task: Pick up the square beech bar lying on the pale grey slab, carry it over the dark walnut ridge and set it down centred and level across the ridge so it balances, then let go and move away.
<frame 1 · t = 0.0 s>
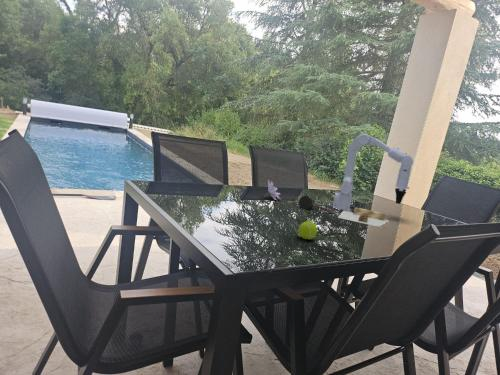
hand: (397, 202, 207), 10 cm above the table, tool pointing down, fingers open, 7 cm apart
water lily: (272, 199, 217), on the table
ridge: (363, 220, 194), resting on slab
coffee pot: (315, 211, 205), on the table
tennis ball: (306, 239, 148), on the table
rod: (368, 216, 205), point 1 cm above the table, touching slab
slab: (363, 219, 198), on the table
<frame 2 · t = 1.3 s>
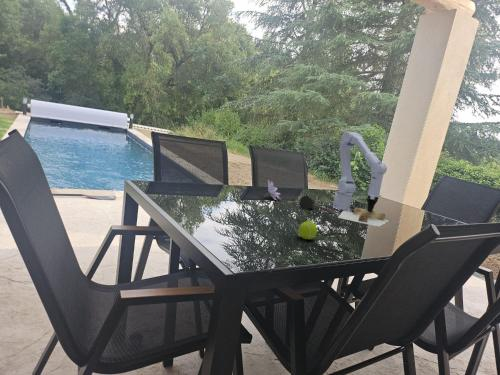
hand: (370, 210, 204), 4 cm above the table, tool pointing down, fingers open, 7 cm apart
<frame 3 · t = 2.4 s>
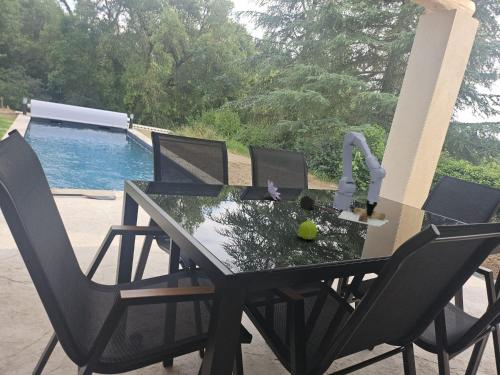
hand: (369, 215, 205), 2 cm above the table, tool pointing down, fingers closed on rod, 3 cm apart
rod: (368, 216, 205), point 1 cm above the table, touching gripper, slab
everything else where it was.
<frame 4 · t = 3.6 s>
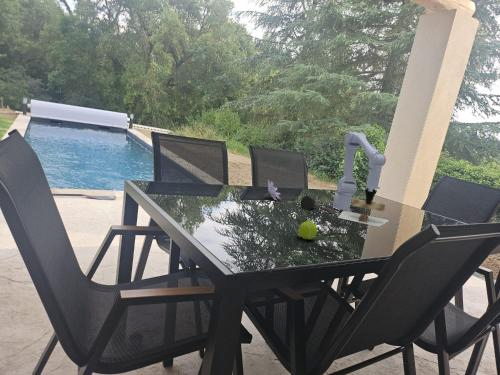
hand: (368, 203, 196), 9 cm above the table, tool pointing down, fingers closed on rod, 3 cm apart
rod: (367, 208, 196), point 7 cm above the table, touching gripper
everything else where it was.
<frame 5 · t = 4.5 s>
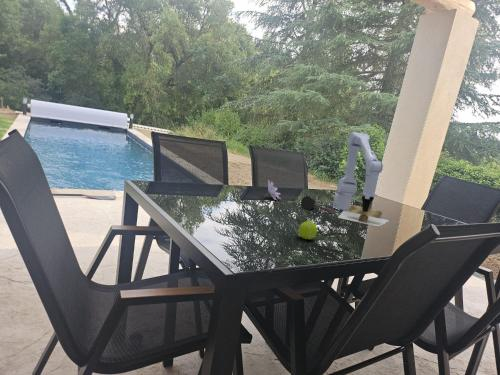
hand: (365, 210, 193), 6 cm above the table, tool pointing down, fingers closed on rod, 3 cm apart
rod: (364, 214, 194), point 4 cm above the table, touching gripper, ridge
when the fingers open (5 cm above the table, at t = 4.9 s): rod stays where it is, resting on ridge.
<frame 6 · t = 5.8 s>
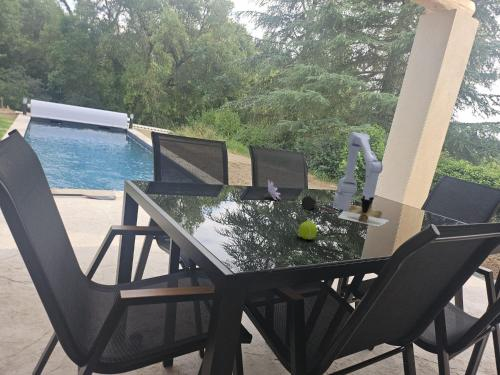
hand: (364, 211, 194), 5 cm above the table, tool pointing down, fingers open, 7 cm apart
rod: (364, 214, 194), point 4 cm above the table, touching ridge
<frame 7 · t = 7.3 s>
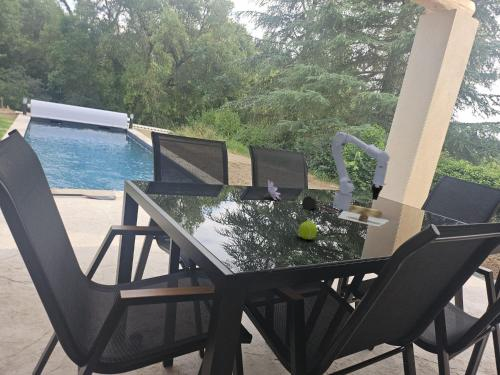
hand: (374, 198, 209), 10 cm above the table, tool pointing down, fingers open, 7 cm apart
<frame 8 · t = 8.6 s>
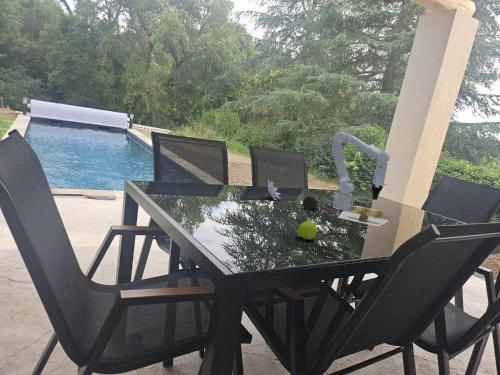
hand: (374, 198, 209), 10 cm above the table, tool pointing down, fingers open, 7 cm apart
at the end: rod 0.2 cm off-centre on the ridge, point 3.0 cm above the ridge's base; rod tilted 0°; the gripper is holding nothing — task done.
